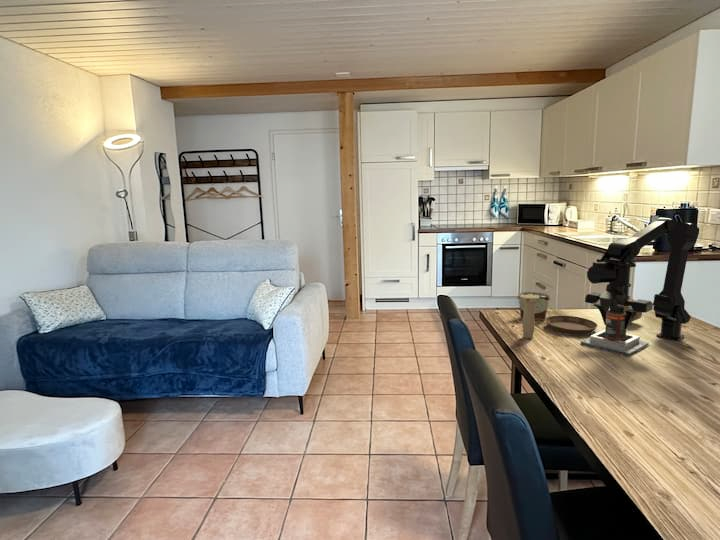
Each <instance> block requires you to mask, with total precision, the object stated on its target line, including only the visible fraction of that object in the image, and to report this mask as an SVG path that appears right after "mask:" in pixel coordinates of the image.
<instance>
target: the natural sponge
mask: <svg viewBox="0 0 720 540" xmlns="http://www.w3.org/2000/svg"><path fill="white" fill-rule="evenodd" d="M628 301H636V300H635V299H634V298H632V297H630V299H628ZM622 306H623V305H622ZM628 309H629V306H624V312H625V313H626V310H628ZM642 316H643V312H638V313H637V314H636V315H635V317H634V318H633V320H632V322H631V323H633V322H634V321H637V320H640V319H641V318H642Z"/></svg>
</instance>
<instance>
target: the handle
mask: <svg viewBox="0 0 720 540" xmlns="http://www.w3.org/2000/svg"><path fill="white" fill-rule="evenodd" d="M520 300H521V301H523V302H524V313H523V318H522V334H523V335H522V336H523V338H525V339H532V338H534V337H533V336H534V331H535V323H536V322H535V320H536V319H535V317H534V305H535V303H536V302H538V301H539V296H535V295H520Z"/></svg>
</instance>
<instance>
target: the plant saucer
mask: <svg viewBox="0 0 720 540" xmlns="http://www.w3.org/2000/svg"><path fill="white" fill-rule="evenodd" d="M544 321H545V323H546V325H547V326H548V328H550V329H551V330H552V331H554V332H557V333H560V334H565V335H570V336H571V335H573V336H583V335H584V336H585V335H589V334H591V333H593V332H594V331H595V330H596V329H597V328H598V324H597V322H595V321H594V320H591V319H588V318H585V317H580V316H573V315H552V316H548V317H546V318H545V320H544Z"/></svg>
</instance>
